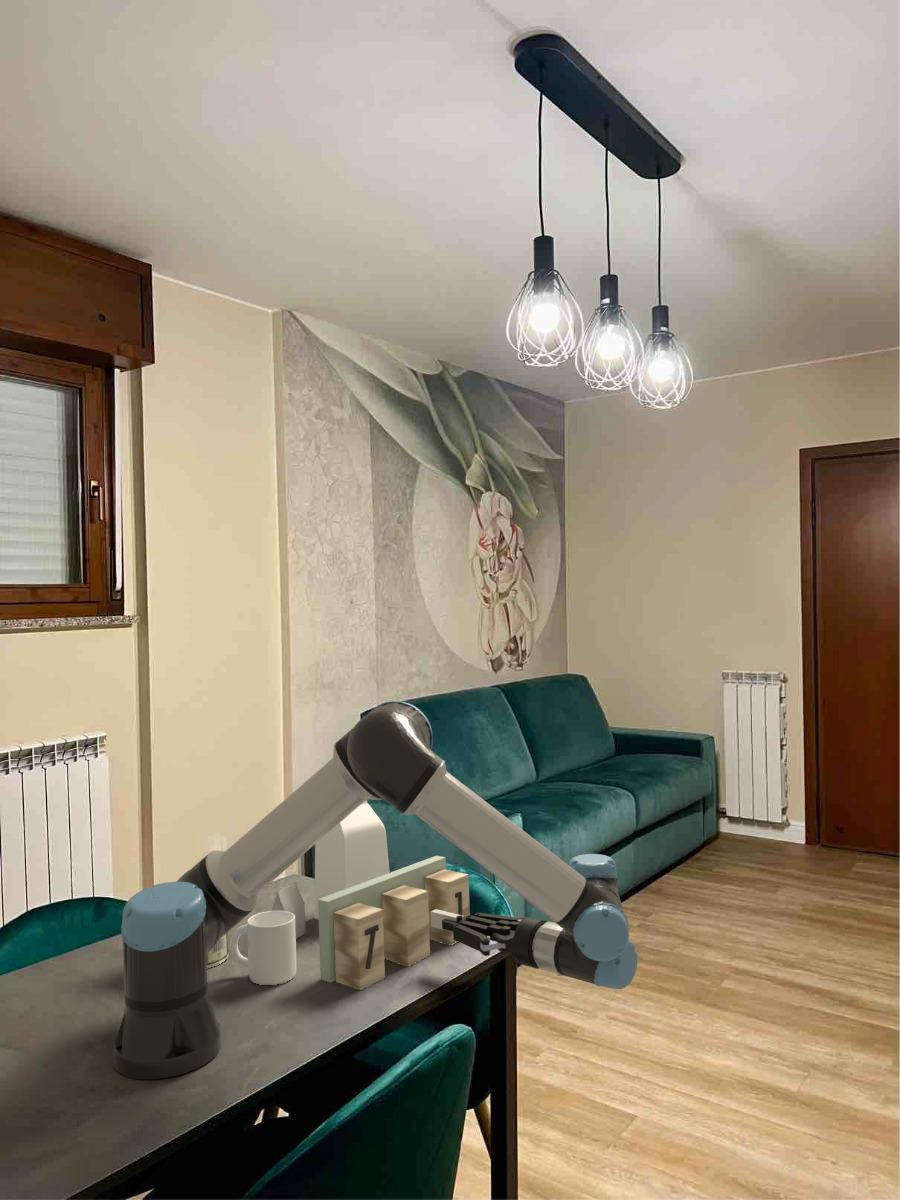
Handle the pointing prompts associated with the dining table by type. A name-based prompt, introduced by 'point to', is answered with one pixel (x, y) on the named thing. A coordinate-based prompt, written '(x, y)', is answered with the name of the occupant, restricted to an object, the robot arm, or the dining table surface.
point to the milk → (350, 854)
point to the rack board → (366, 903)
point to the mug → (268, 947)
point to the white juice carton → (291, 906)
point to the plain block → (406, 925)
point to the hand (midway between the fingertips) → (433, 917)
